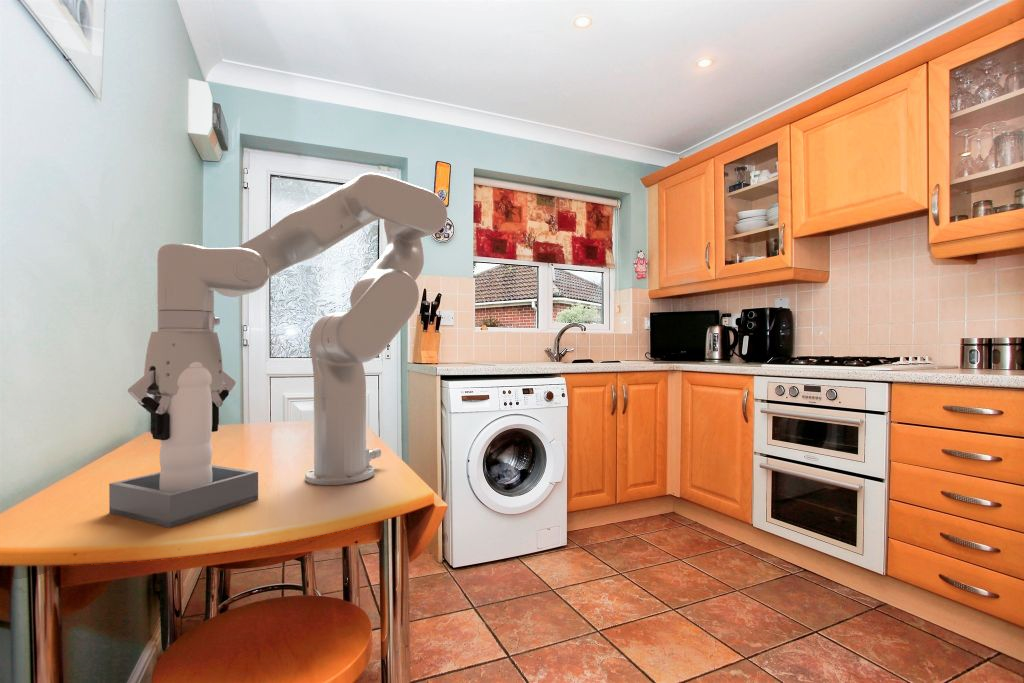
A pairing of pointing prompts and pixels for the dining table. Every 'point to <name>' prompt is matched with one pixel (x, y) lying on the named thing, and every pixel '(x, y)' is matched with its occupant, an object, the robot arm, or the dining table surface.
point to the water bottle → (188, 433)
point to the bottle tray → (182, 497)
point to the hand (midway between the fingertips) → (186, 434)
